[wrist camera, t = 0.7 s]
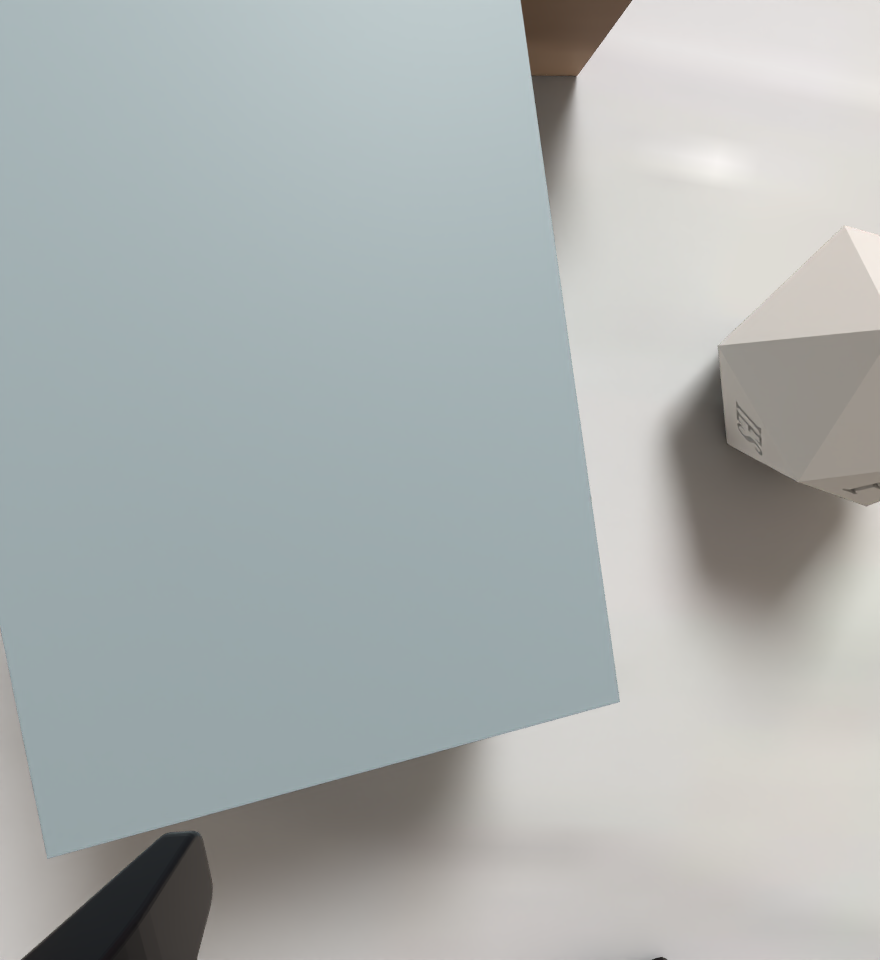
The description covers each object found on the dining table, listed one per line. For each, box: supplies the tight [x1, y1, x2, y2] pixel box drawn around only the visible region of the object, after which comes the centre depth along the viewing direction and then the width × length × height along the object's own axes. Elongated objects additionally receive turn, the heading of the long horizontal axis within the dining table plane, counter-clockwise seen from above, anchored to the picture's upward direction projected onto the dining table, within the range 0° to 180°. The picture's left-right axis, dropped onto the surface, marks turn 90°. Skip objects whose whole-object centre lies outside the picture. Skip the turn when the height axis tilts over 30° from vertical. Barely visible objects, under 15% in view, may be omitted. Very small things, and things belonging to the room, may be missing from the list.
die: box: [718, 225, 880, 506], centre depth 21 cm, size 8×9×10 cm
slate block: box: [0, 0, 620, 859], centre depth 17 cm, size 16×12×9 cm
